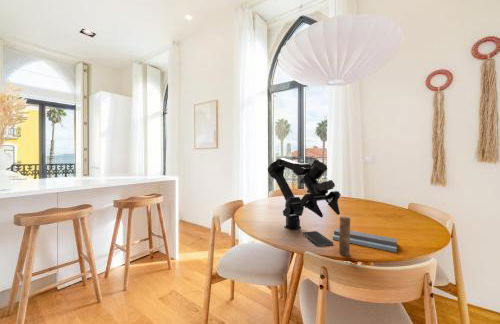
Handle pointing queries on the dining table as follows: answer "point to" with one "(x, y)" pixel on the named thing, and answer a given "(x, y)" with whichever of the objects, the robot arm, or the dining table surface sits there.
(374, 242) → the stand
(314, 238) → the phone
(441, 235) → the dining table surface
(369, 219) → the dining table surface
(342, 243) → the walnut dowel
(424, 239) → the dining table surface
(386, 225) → the dining table surface
